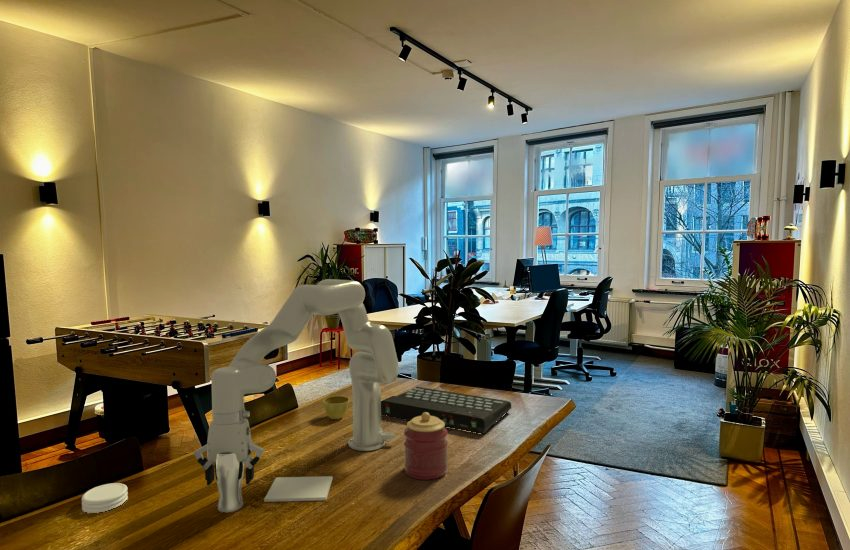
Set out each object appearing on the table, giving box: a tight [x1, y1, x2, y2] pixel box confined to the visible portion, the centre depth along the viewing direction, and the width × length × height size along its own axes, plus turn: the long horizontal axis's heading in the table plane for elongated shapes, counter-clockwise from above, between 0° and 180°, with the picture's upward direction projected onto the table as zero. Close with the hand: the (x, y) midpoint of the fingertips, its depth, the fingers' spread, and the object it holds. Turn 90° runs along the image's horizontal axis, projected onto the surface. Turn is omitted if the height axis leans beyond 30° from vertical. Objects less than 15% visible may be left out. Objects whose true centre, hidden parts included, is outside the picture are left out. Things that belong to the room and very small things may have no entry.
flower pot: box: [322, 395, 350, 420], centre depth 192 cm, size 10×10×7 cm
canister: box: [403, 412, 449, 481], centre depth 145 cm, size 13×13×18 cm
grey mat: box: [263, 475, 333, 503], centre depth 134 cm, size 16×12×1 cm
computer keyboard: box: [381, 386, 512, 435], centre depth 196 cm, size 45×28×7 cm, turn 61°
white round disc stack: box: [81, 482, 129, 514], centre depth 127 cm, size 10×10×4 cm
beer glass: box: [214, 453, 245, 514], centre depth 125 cm, size 7×7×15 cm
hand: (229, 482), depth 125 cm, fingers open, 9 cm apart
